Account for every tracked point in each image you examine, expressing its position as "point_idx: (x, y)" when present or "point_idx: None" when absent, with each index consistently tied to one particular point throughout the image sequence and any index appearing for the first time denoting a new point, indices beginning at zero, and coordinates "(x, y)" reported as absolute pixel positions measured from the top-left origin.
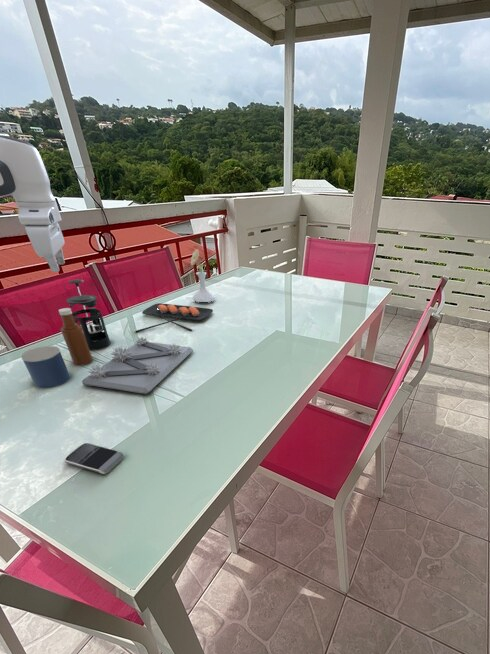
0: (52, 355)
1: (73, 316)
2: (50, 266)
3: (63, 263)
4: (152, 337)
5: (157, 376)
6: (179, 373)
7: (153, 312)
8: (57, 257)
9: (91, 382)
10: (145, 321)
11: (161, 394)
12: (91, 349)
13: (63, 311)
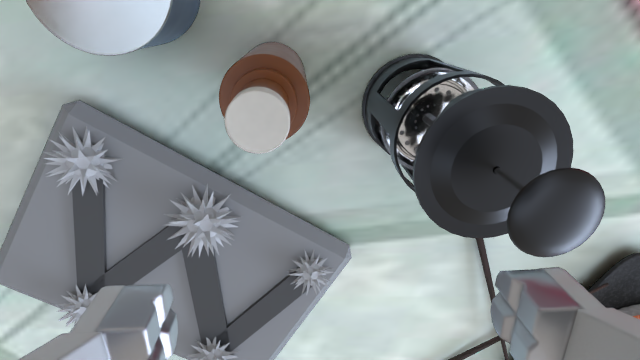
0: (63, 33)
1: (428, 89)
2: (77, 329)
3: (494, 320)
4: (410, 275)
5: (62, 308)
6: None
7: (631, 284)
8: (573, 326)
9: (53, 134)
10: (570, 253)
11: (14, 297)
12: (364, 94)
13: (226, 121)
